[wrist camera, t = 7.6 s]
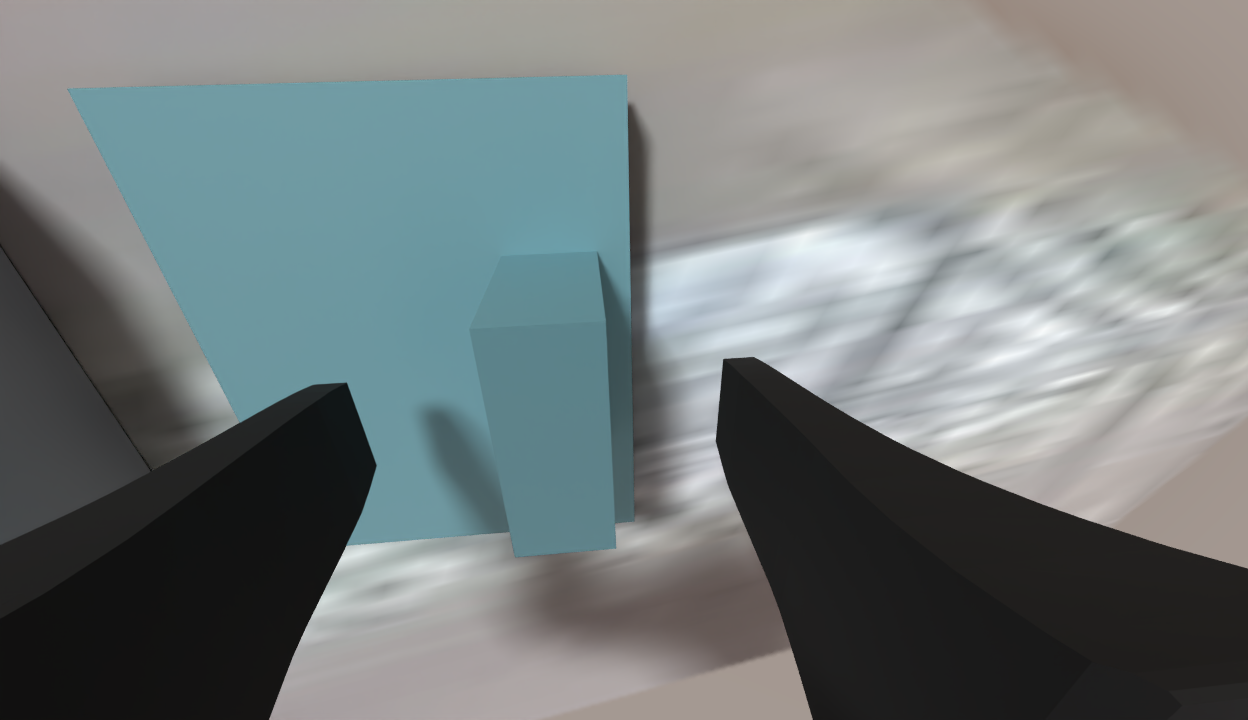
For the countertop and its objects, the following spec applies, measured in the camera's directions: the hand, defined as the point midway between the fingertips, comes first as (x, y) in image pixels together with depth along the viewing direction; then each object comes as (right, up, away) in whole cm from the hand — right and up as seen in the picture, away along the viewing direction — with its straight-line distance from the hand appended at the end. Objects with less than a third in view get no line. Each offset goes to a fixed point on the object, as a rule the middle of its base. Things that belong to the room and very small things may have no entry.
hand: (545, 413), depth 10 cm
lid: (-3, +1, +2) cm, 4 cm away
